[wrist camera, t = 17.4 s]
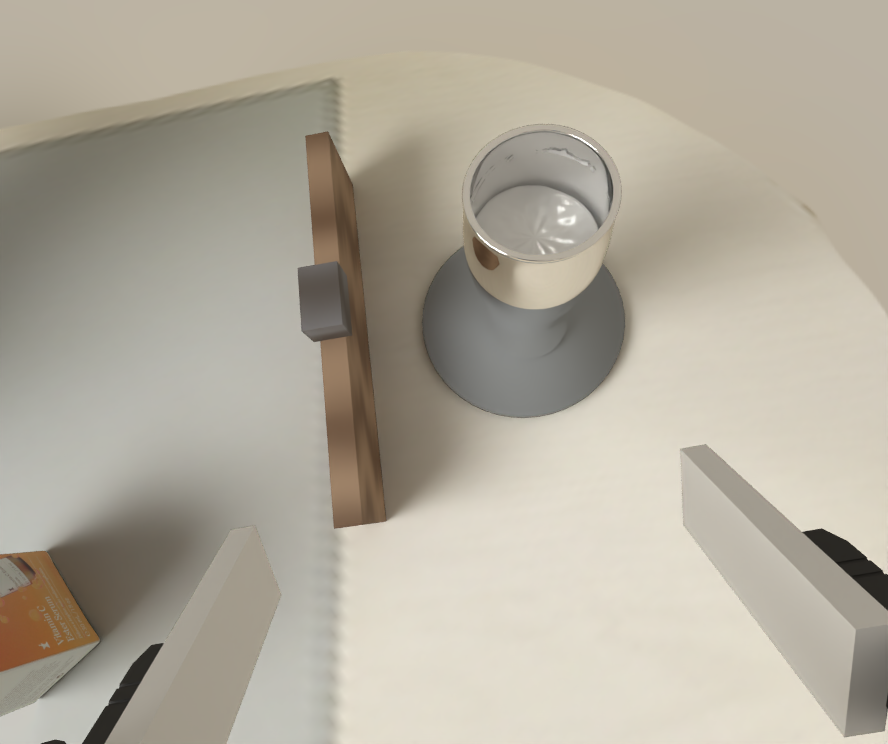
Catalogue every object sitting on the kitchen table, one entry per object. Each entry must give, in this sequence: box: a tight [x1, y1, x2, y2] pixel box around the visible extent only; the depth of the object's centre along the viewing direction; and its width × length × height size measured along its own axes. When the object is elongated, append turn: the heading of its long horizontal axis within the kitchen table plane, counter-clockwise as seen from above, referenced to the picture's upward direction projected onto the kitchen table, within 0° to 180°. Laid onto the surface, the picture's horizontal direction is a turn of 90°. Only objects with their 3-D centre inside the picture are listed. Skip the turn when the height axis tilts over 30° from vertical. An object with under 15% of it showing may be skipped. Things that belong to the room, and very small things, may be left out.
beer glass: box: [462, 124, 622, 359], centre depth 28 cm, size 7×7×15 cm
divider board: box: [298, 132, 386, 529], centre depth 33 cm, size 26×2×8 cm, turn 8°
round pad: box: [422, 246, 625, 418], centre depth 36 cm, size 14×14×1 cm
